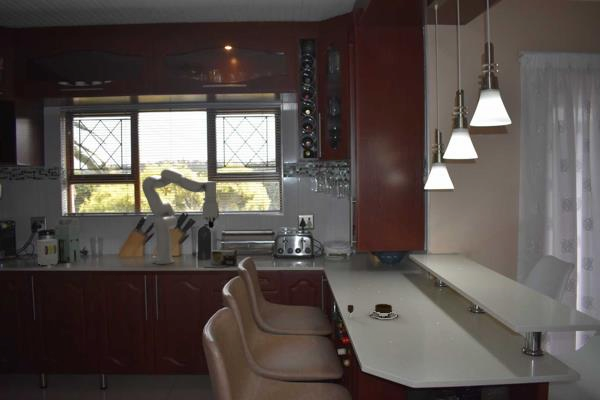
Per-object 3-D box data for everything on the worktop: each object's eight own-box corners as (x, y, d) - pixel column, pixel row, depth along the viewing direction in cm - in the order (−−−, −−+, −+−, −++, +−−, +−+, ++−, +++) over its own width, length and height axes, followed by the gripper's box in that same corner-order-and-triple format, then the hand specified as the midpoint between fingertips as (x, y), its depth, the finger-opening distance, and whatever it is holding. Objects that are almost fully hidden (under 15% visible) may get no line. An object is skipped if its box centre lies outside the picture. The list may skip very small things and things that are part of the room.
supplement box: (43, 266, 317) (42, 241, 316) (37, 264, 323) (36, 239, 322) (58, 263, 325) (57, 239, 324) (51, 262, 330) (50, 238, 329)
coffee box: (213, 262, 320) (236, 263, 318) (210, 264, 313) (234, 265, 312) (213, 249, 319) (236, 250, 318) (210, 251, 313) (234, 251, 311)
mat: (203, 267, 308) (203, 266, 307) (215, 262, 324) (215, 261, 324) (221, 268, 304) (221, 267, 304) (232, 263, 321) (232, 262, 321)
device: (55, 260, 337) (53, 218, 335) (65, 259, 344) (64, 217, 342) (70, 262, 329) (68, 219, 327) (80, 260, 335) (78, 218, 334)
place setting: (395, 325, 191) (395, 310, 190) (346, 320, 197) (346, 306, 196) (399, 312, 207) (399, 299, 207) (354, 309, 213) (354, 296, 213)
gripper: (197, 200, 312) (198, 228, 313) (218, 200, 308) (219, 228, 309) (203, 199, 319) (203, 226, 320) (223, 199, 315) (223, 227, 316)
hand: (211, 227), depth 314 cm, fingers closed
